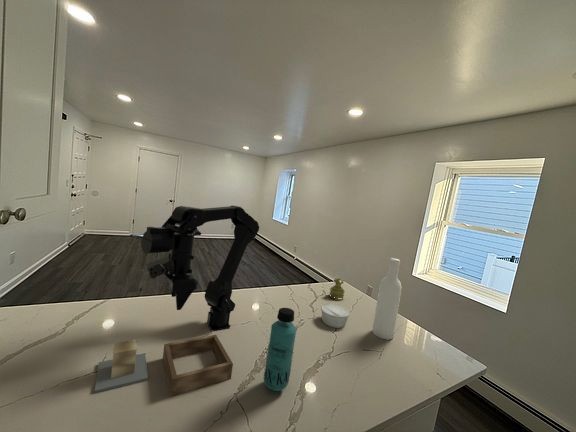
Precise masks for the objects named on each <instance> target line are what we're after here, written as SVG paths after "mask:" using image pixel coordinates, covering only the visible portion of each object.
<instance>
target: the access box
mask: <svg viewBox="0 0 576 432" xmlns="http://www.w3.org/2000/svg"><path fill="white" fill-rule="evenodd" d="M209 351H212V353H213V355H214V357H215V359H216V360H217V363H218V364H215V365H211V366H207V367H203V368H200V369H196V370H192V371H187V372H184V373H180V374H179V373H178V374H177V371H176V368H175V367H176V366H175V363H174V360H173V359H176V358H181V357H187V356H191V355H195V354H199V353H204V352H209ZM162 362H163V366H164V370H165V375H166V381H167V385H168V390H169V394H170V397H173V396H177V395H179V394H183V393H186V392H190V391H193V390H197V389H198V390H199V389H201V388H204V387H207V386H211V385H214V384H218V383H221V382H224V381H227V380H228V381H229V380H231V379H232V374H233V367H234V363H233V361H232V360H231V357H230V356H229V355H228V352H227V351H226V349H225V347H224V346H223V343H222V342H221V340H220V339H219V337H218V336H217V334H213V335H212V334H211V335H207V336H202V337H201V336H200V337H197V338H191V339H185V340H179V341H174V342H169V343H164V346H163V354H162Z"/></svg>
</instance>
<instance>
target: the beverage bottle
mask: <svg viewBox="0 0 576 432" xmlns="http://www.w3.org/2000/svg"><path fill="white" fill-rule="evenodd" d="M276 318H277V320H276V321H275V322H273V323H272V324H271V327H270V328H271V329H270V337H269V341H268V342H269V343H268V346H267V352H266V353H267V354H266V356H265V357H266V358H265V368H264V370H263V371H264V372H263V383H264V385H265V386H266V388H267V389H270V390H272V391H277V392H278V391H283V390H284V389H286V388H287V386H288V385H289V382H290V378H291V377H290V375H291V371H292V363H293V355H294V347H295V342H296V341H295V340H296V335H297V328H296V326H295V325H294V324H293V322H294V320H295V311H294V310H293V309H292V308H290V307H281V308H279V310H278V313H277V317H276Z"/></svg>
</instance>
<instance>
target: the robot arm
mask: <svg viewBox="0 0 576 432" xmlns="http://www.w3.org/2000/svg"><path fill="white" fill-rule="evenodd" d="M223 220H230V221H231V223H232V225H234V229H233V236H234V239H233V241H232V244H231V247H230V249H229V252H228V253H227V256H226V259H225V261H224V263H223V264H222V268H221V270H220V272H219V274H218V276H217V278H216V279H214V280H210V281H208V283H207V287H206V289H205V290H204V293H205V294H204V299H205V301H206V302H207V303H206V304H207V306H209V308H210V309H209V311H207V320H206V324H207V326H208V327H209V328H210V330H211V331H218V330H225V329H230V328H231V325H230V324H229V323H230V317H231V316H230V315H231V313H232V312H233V311H234V310H235V307H236V303H235V302H234V301H233V300H232V299H231V297H232V295H233V286H232V284H233V283H232V282H233V280H234V278H235V275H236V272H237V270H238V268H239V265H240V263H241V260H242V259H243V256H244V254H245V251H246V249H247V246H248V244H250V243H251V242H252V241H253V240H254V239H255V238H256V236H257V234H258V233H259V230H260V226H259V222H258V221H257V220H255V218H253V217H252V216H251V215H250V214H249V213H247V212H246V211H245V209H244V208H242V206H239V205H229V206H218V207H208V208H199V207H191V206H183V205H180V206H176V207H174V210H172V213H171V215H170V216H169V217H168V218H167V220H166V221H165V222H164V223H163V224H162V226H161V227H157V226H156V227H155V226H147V227H146V231H144V233H143V235H142V237H141V239H140V246H141V250H142V251H143V253H144V254H159V253H168V252H169V253H168V254H167V257H163V258H160V259H157V260H153V261H151V262H148V263H146V264H145V265H146V269H147V271H148V275H149V278H150V279H156V278H157V277H160V276H162V275H164V276H165V277H167V278H168V280H169V286H170V293H171V295H170V296H171V297H172V298H173V297H174V298H175V306H176V310H177V311H180V310H182V309H183V307H184V305H185V304H186V302H187V301H188V299H189V297H191V295H192V293H194V291H196V290H197V289H198V283H199V282H198V280H197V279H196V277H195V276H194V275H193V274H192V273H193V269H192V260H194V257H195V256H194V254H193V250H194V242H195V236H202V232H201V231H200V230H199V229H198V227H201V226H203V225H204V224H206V223H209V222H215V221H223Z"/></svg>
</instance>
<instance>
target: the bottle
mask: <svg viewBox="0 0 576 432" xmlns="http://www.w3.org/2000/svg"><path fill="white" fill-rule="evenodd" d="M400 266H401V260H400V259H398V258H395V257H391V258H389V262H388V270H387V274H386V275H385V276H384V277H382V279H381V281H380V282H379V289H378V295H377V301H376V307H375V313H374V319H373V323H372V333H373V334H374V335H375V336H376V337H378V338H380V339H383V340H387V341H388V340H393V339H394V335H395V331H396V325H397V324H396V323H397V318H398V314H399V307H400V300H401V295H402V289H403V288H402V283H401V281H400V279H399V277H398V276H399V270H400Z"/></svg>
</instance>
